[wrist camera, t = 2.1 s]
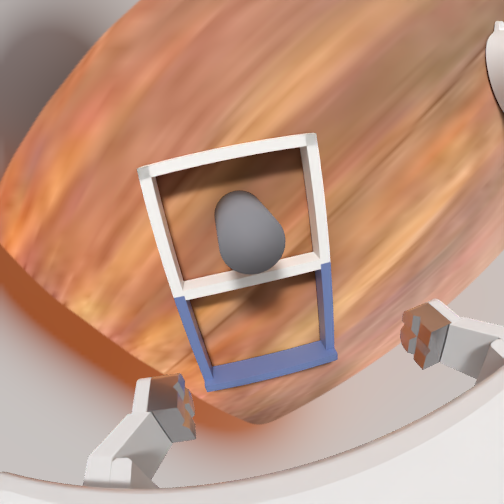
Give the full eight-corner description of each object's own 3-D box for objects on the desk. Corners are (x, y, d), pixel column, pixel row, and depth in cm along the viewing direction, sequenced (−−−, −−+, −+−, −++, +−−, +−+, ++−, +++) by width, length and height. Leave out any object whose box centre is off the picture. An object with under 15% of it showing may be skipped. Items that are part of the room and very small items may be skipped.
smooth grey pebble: (258, 186, 27) (280, 205, 19) (266, 232, 28) (289, 266, 21) (209, 196, 26) (212, 219, 19) (220, 242, 28) (226, 280, 21)
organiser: (308, 133, 26) (320, 133, 23) (328, 344, 35) (337, 359, 32) (141, 166, 24) (134, 170, 22) (206, 374, 34) (207, 392, 31)
